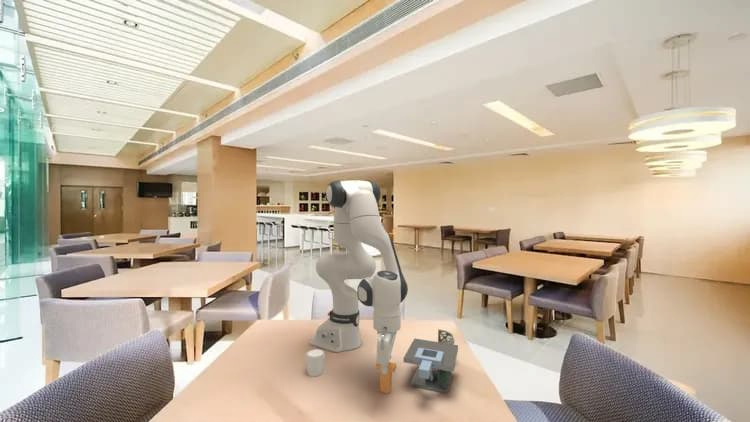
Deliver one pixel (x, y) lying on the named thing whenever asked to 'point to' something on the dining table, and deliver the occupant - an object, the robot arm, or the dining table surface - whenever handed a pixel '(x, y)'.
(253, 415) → the dining table surface
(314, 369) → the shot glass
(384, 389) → the orange t-shaped block
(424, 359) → the bracket
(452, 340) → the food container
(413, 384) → the metal plate
